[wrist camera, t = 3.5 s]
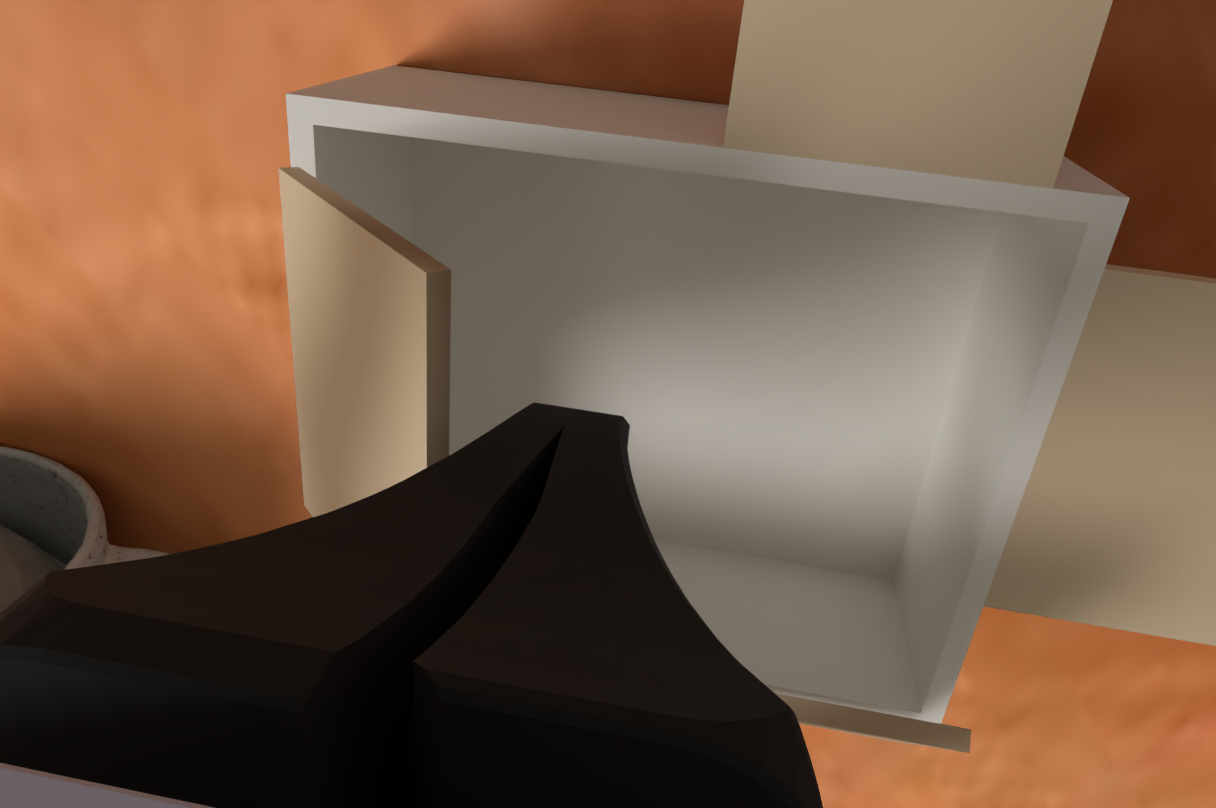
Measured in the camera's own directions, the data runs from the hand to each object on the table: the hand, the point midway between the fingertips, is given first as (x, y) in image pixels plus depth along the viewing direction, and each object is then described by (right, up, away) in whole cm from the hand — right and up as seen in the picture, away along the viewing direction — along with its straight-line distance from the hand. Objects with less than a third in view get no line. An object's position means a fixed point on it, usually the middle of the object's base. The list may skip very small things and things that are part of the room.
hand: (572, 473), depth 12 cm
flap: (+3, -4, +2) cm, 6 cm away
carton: (+4, +4, +5) cm, 8 cm away
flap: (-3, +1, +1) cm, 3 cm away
